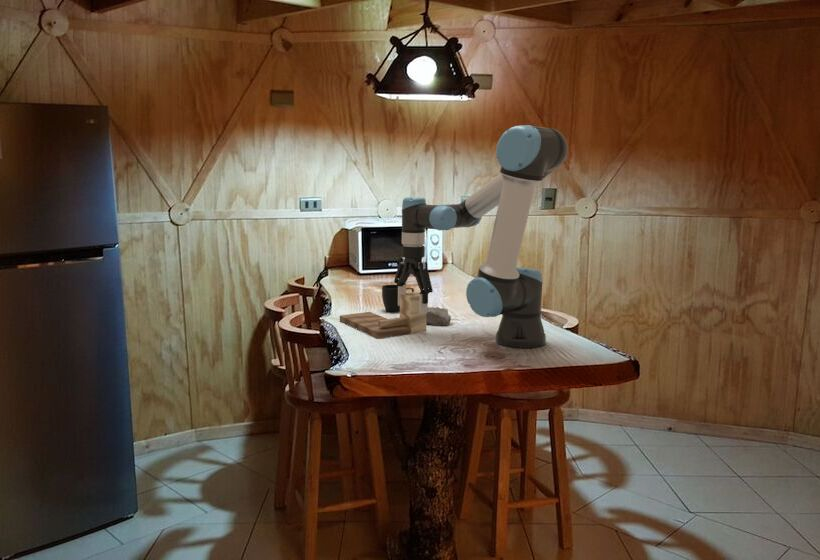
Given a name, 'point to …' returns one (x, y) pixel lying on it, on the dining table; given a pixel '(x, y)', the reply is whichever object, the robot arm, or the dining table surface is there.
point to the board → (373, 325)
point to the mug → (391, 298)
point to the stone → (437, 316)
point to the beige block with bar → (408, 314)
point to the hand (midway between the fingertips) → (412, 309)
